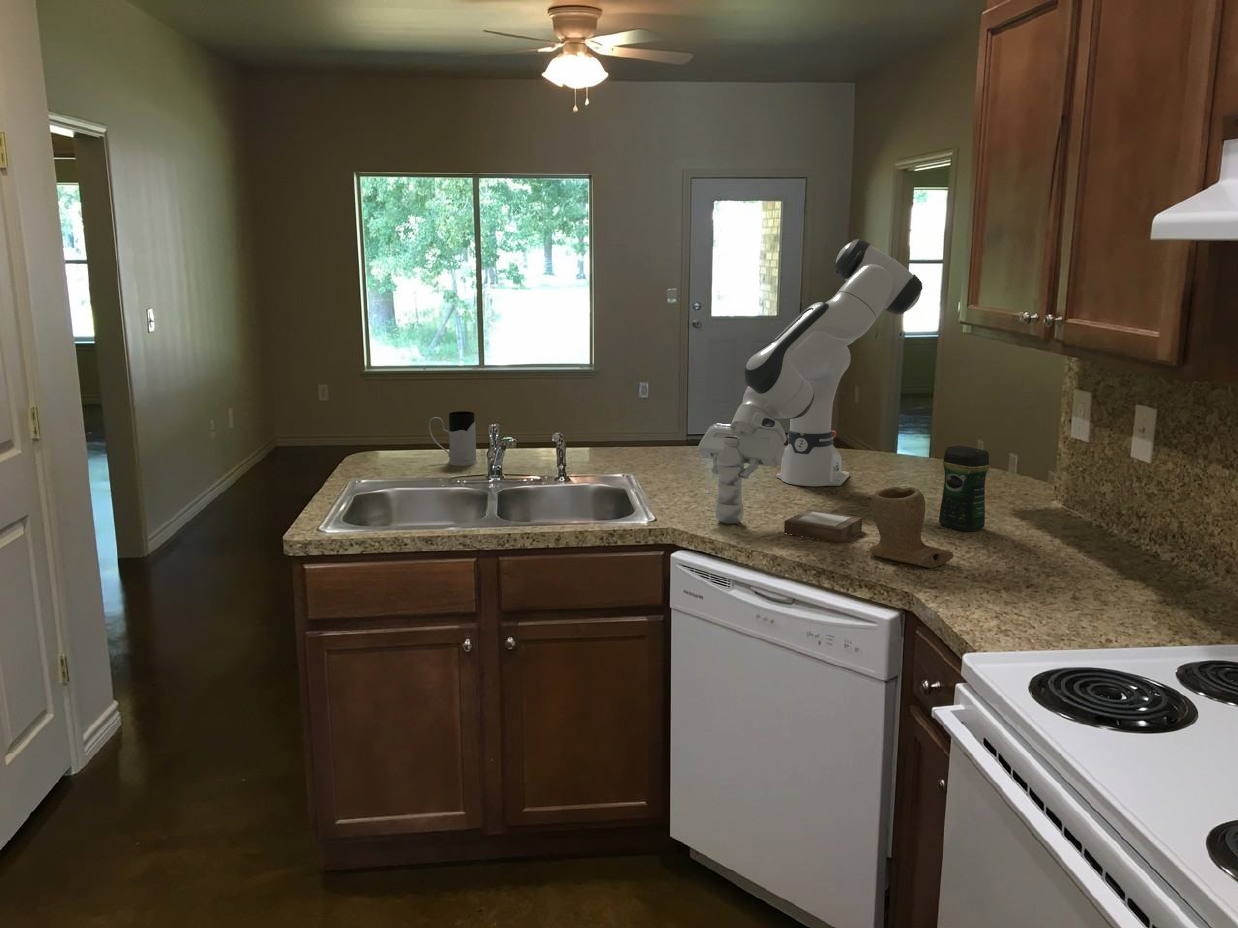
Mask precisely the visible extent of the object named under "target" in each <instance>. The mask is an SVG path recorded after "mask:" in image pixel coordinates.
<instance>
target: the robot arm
mask: <svg viewBox="0 0 1238 928" xmlns="http://www.w3.org/2000/svg"><path fill="white" fill-rule="evenodd" d="M834 270H835V273H836V274H837V275H838V277H839V278H840V279H841V280H842V281H843V280H844V281H845V282H844V284H842V285H841V286H840V288H839V290H838V291H836V293H835V295H833V297H832V298H831V299H829V300H827V301H826V302H823V301H817V302H815V303H813V304H811V305H810V306H807V308H806V309H804V310H803V311H802V312H801V313H799V314H798V316H796V317H795V319H793V320H792V321H791V322H790V323H789V324H788V325H787V326H785V327H784V328H783V329H782V330H781V331H780V332H779V333H778V334H777V335H776V336H775V337H774V338H773V339H772V340H770V342H768V344H766V345H765V346H763V347H762V348H760V349H759V350H758V351H756V352H755V353H754V354H753V355H751V356H750V357H749V358H748V359H747V361H746V363H745V364H744V365H745V366H744V371H743V372H744V373H743V374H744V382H745V385H747V387H746V389H745V391H744V394H743V397H742V401H741V402H742V403H741V404H740V405H739V406H738V408H737V410H736V411H735V414H734V416H733V418H732V421H731V423H730V424H729V423H728V424H722V423H715V424H712V425H710V426H708V428H707V430H706V433H705V434H704V435H703V437H702V439H701V440H700V442H699V443H698V446H697V449H698V452H699V453H700V455H701V457H702V458H703V459H708V460H712V464H713V466H712V468H711V473H712V475H716V476H718V471H717V457H718V455H719V453H720V452H721V451H722V449H723V448H724V446H723V438H724V437H726V436H735V437H739V444H740V446H738V449H739V450H740V452H741V453H742V455H743V457H744V460H745V463H744V464H747V465H748V466H747V467H746V468H745V467H744V468H742V470H741V471H742V472H741V473H740V476H741V478H742V479H745V480H748V479H749V478H750V475H751V474H752V473H753V472H755V471H756V470H758V468H759V466H762V467H763V466H764V467H771V468H775V467H778V466H779V465H780V464H781V467H780V472H777V473H776V477H775V478H778V479H780V480H781V481H782V482H783V483H787V484H789V485H790V484H791V485H795V486H804V487H825V486H830V487H831V486H837V487H838V486H839V487H840V486H842V485H843V483H845V481H846V480H847V479H849V476H850V472H848V471H846V470H842V456H841V453H840V452H839V451H838V450H837V449H836V447H835V445H834V438H836V436H837V431H836V430H832V419H833V405H834V401H835V396H836V393H837V390H838V386H839V384H840V381H841V379H842V377H843V375H844V374H845V373H846V371H847V370H848V368H849V367H850V364H851V361H852V359H851V357H852V356H851V352H850V349H849V347H848V346H849V345H851V344H852V343H854V342H855V341H856V340H858V339H859V338H861V337H862V336H864V335H865V334H866V333H867V332H868V331H869V330H870V329H871V327H872V326H873V325H874V323H875V321H876V320H877V319H878V317H879V316H880V315H881V314H882V311H883V310H884V309H885V311H886V312H888V313H891V314H894V315H903V314H905V313H906V312H908V311H909V310H911V309H912V308H913V307H914V306H915V305H917V303H918V302H919V300H920V297H921V294H922V290H923V283H922V281H921V280H920V279H919V277H918V276H917V275H916V274H912V272H911V271H910V270H908V269H907V268H906V267H905V266H904V265H903V264H902V263H901V262H899V261H898V260H897V259H895V258H894V257H893V258H892V257H891V256H890V255H888V254H887V253H885V252H884V251H882V250H880V249H878V248H877V247H875V246H873V245H871V243H870V242H868V241H866V240H863V239H862V238H857V239H853V240H852V241H851V242H849V243H847V244H846V245H845V246H843V247H842V249H840V251H839V253H838V255H837V256H836V259H835V264H834ZM776 419H778V420H789V421H790V422H789V429H788V431H787V432H788V433H787V435H786V432H785V430H784V428H783V426H782V424H781V422H780V421H778V420H776ZM786 442H787V446H786V447H785V444H786Z"/></svg>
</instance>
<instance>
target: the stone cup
mask: <svg viewBox="0 0 1238 928" xmlns="http://www.w3.org/2000/svg"><path fill="white" fill-rule="evenodd" d="M925 499H926V498H925V497H924V494H923V493H922V492H921V491H920V490H919V489H918V488H916V487H912V486H911V487H906V488H903V487H899V486H898V487H897V486H892V487H886V488H883V489H880V490H878V491H876V492H875V493H874V494H873V495H872V497H871V503H870V505H871V512H872V516H873V519H874V523H875V525H876V528H877V530H878V534H879V536H880V537H879V542H878V543H876V544H874V545H872V546H870V548H869V550H868V551H869V553H870V554H871V555H874V556H876V557H879V558H882V559H887V560H891V561H896V562H900V563H906V564H909V565H915V566H920V567H925V568H930V569H931V568H937V567H941V566H942V565H944V564H947V563H949V561H951V560H952V559H953V558H954V552H953V551H948V550H945V549H941V548H938V547H934V546H929V545H926V544H925V543H924V542H923V541H922V530H923V527H924V522H925V521H924V520H925V517H926V500H925Z"/></svg>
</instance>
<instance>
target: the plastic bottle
mask: <svg viewBox="0 0 1238 928" xmlns="http://www.w3.org/2000/svg"><path fill="white" fill-rule="evenodd" d="M723 446H724V448H723V449H722V451H721V452H720V453H719V455H718V457H717V471H718V475H717V477H718V478H717V479H718V482H717V484H718V486H717V487H718V490H717V491H718V492H717V500H716V503H715V504H716V505H715V511H714V514H715V518H716V519H717V521H718V522H719V523H723V524H728V525H729V524H730V525H732V524H739V523H741V521H742V520H743V518H744V505H743V498H742V497H743V496H742V495H743V494H742V492H743V491H742V484H743V478H741V476H740V473H741V472H742V471H741V470H742V468H745V464H746V463H745V460H744V457H743V455H742V453H741V452H740V450H739V449H738V446H740V444H739V437H735V436H726V437H724V438H723Z"/></svg>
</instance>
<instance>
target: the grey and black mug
mask: <svg viewBox="0 0 1238 928" xmlns="http://www.w3.org/2000/svg"><path fill="white" fill-rule="evenodd" d="M475 416H476V415H475V412H473V411H464V410H463V411H462V410H460V411H451V412H448V427H449V428H448V429H449V430H446V428H445V423H444V421H443V419H442V418H441V417H438V416H434V417H432V418H430V420H429V423H428V431H429V433H430V436H431V439H432V440H433V442H434V443H435V444H436V445H437V446H438V447H439V448H441V449H442V450H443V451H444V452H446V453H447V455H448V458H449V460H448V462H447V463H448V465H451V466H457V467H458V466H459V467H461V466H462V467H463V466H465V467H467V466H473V465H477V464H478V463H479V462H478V460H477V445H476V443H477V442H476V440H477V439H476V438H477V437H476V436H477V435H476V434H477V433H476V420H475ZM435 419H438V420H439V421H440V422H441V424H442V430H443V431H444V432H446V433H448V448H449V450H447V449H446V448H444V447H443V446H442V445H440V444H439V442H438V441H437V440H436V439H435V437H434V436H433V433H432V429H431V422H432V420H435Z"/></svg>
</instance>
